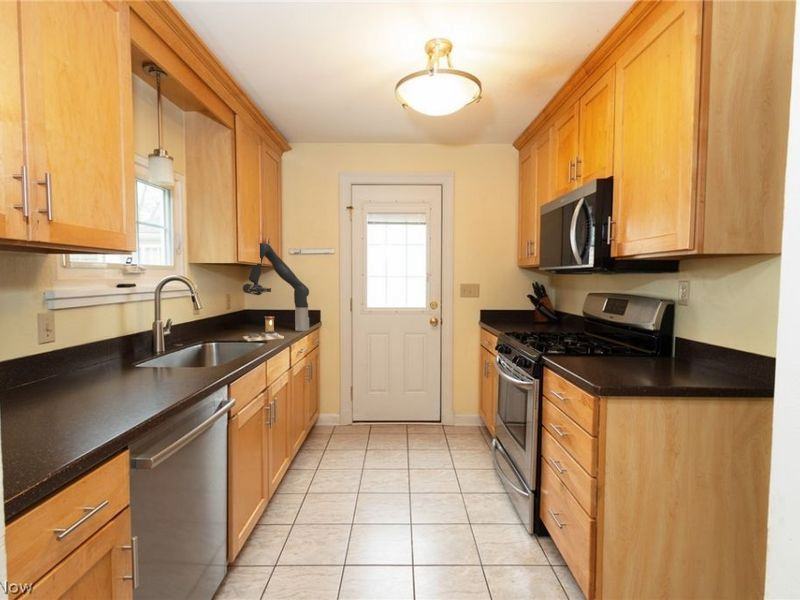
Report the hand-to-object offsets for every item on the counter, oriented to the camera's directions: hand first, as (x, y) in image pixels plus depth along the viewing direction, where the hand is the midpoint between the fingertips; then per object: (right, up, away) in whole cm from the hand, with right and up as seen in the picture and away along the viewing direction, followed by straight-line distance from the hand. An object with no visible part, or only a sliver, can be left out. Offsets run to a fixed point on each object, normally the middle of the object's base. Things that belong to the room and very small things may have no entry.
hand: (262, 290), depth 271 cm
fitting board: (+6, -31, -17) cm, 36 cm away
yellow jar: (+10, -30, -15) cm, 34 cm away
